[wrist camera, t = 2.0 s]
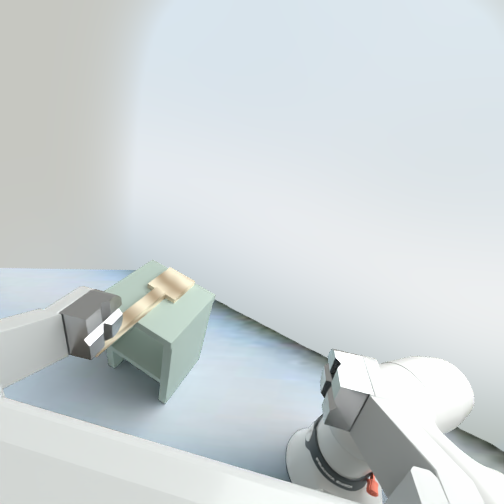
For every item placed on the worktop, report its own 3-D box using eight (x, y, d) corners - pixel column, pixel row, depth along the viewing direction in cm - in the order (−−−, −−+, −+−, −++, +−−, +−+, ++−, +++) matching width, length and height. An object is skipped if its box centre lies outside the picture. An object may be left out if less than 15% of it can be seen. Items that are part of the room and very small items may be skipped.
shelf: (200, 357, 72) (215, 295, 57) (163, 406, 60) (171, 343, 45) (150, 325, 76) (152, 259, 61) (106, 366, 64) (96, 295, 49)
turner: (169, 271, 60) (170, 265, 59) (194, 284, 58) (195, 279, 57) (74, 342, 41) (73, 335, 40) (107, 365, 40) (106, 359, 39)
